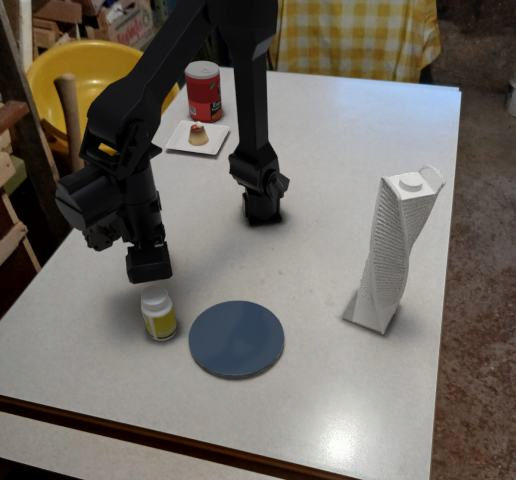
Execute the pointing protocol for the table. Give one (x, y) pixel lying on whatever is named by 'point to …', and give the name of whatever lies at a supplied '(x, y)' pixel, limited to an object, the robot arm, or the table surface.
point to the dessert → (197, 137)
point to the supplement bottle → (158, 313)
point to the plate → (236, 339)
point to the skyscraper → (392, 247)
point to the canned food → (204, 91)
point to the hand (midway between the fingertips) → (154, 273)
